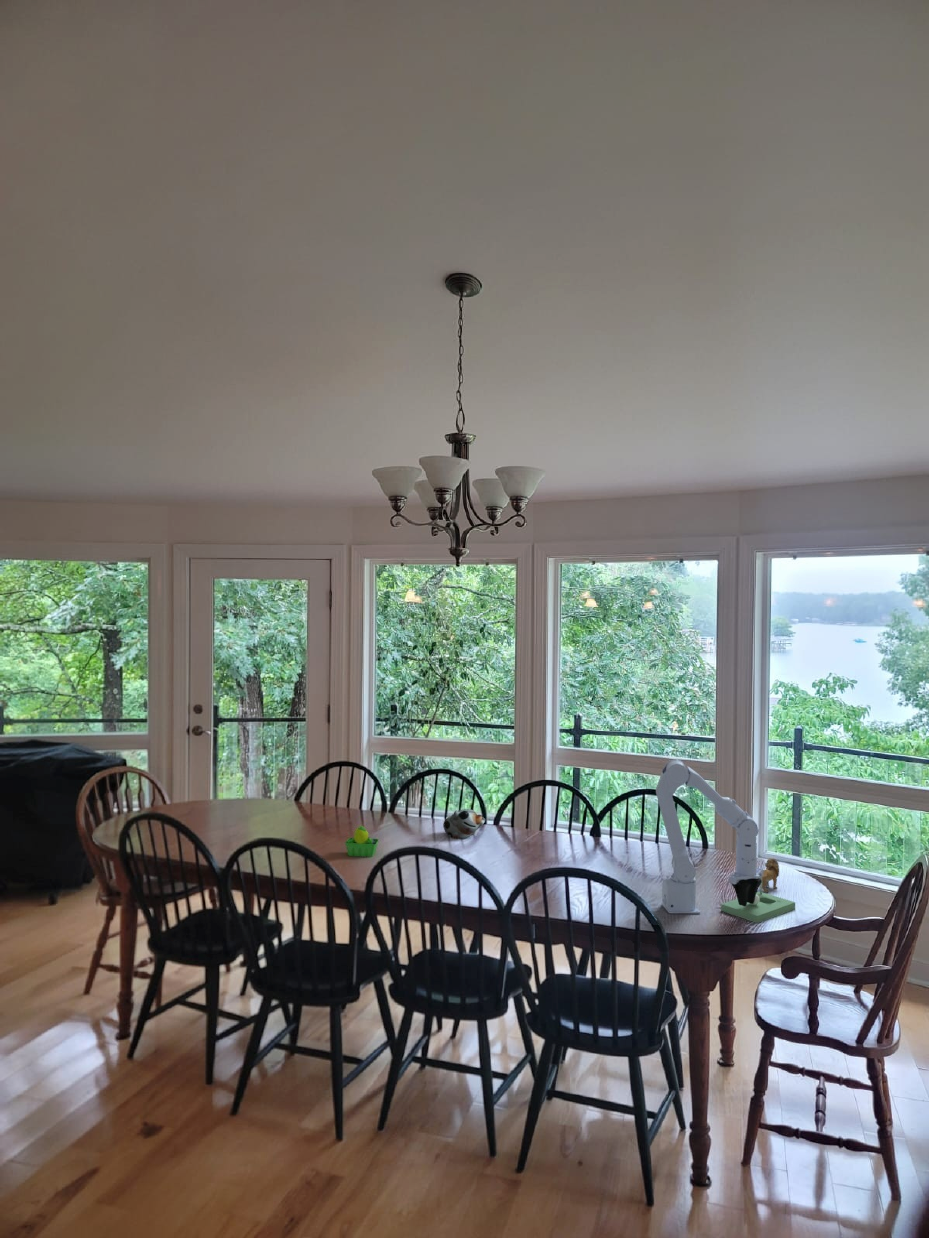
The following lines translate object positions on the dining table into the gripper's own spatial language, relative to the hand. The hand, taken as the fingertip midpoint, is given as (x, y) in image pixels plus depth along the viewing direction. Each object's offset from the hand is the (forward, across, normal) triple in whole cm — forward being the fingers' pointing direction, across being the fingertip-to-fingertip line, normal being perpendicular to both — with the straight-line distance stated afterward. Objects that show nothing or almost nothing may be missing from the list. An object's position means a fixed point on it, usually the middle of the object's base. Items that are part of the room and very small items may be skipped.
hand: (746, 903), depth 228 cm
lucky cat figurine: (+3, -16, +119) cm, 120 cm away
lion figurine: (+3, +26, +10) cm, 28 cm away
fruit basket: (+3, -64, +118) cm, 134 cm away
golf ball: (-1, +4, 0) cm, 4 cm away
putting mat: (+3, +6, 0) cm, 7 cm away
